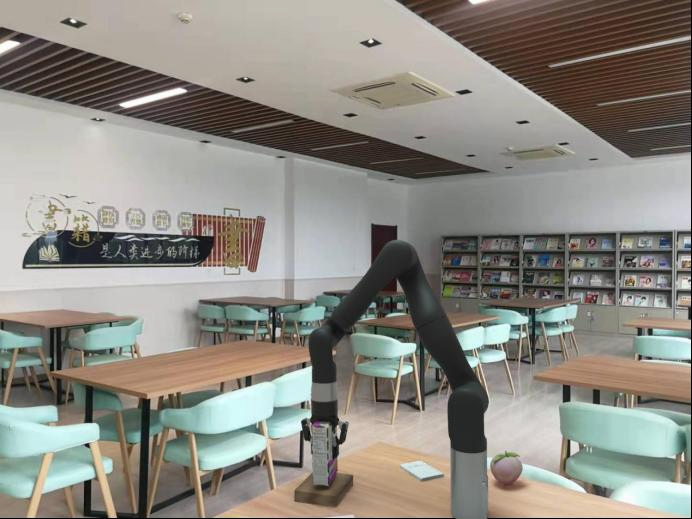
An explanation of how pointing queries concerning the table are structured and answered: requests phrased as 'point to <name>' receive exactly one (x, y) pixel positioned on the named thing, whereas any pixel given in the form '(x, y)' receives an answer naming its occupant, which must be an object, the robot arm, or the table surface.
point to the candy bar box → (323, 454)
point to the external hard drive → (421, 471)
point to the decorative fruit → (506, 467)
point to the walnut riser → (324, 490)
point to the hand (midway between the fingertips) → (324, 456)
